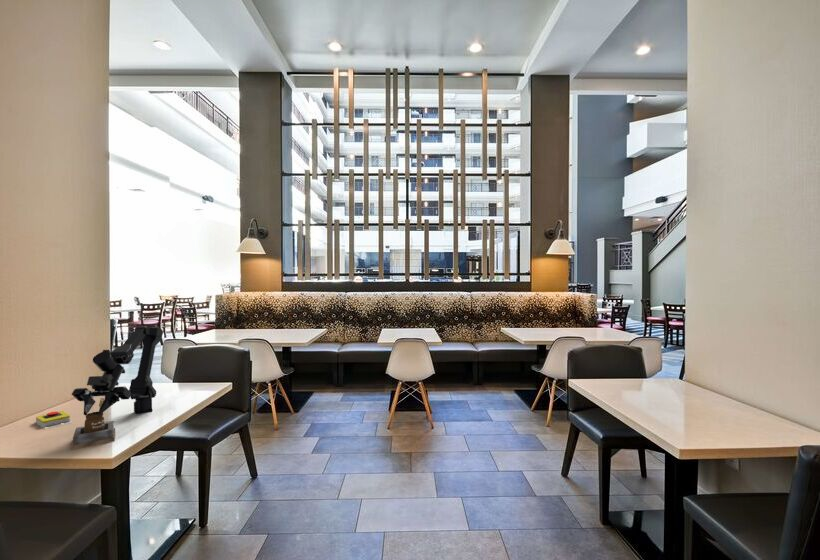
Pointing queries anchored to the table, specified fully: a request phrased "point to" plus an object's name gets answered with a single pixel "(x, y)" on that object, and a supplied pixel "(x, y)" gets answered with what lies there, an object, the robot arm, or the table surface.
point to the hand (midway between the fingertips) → (91, 414)
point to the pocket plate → (93, 436)
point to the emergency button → (53, 419)
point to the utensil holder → (94, 420)
